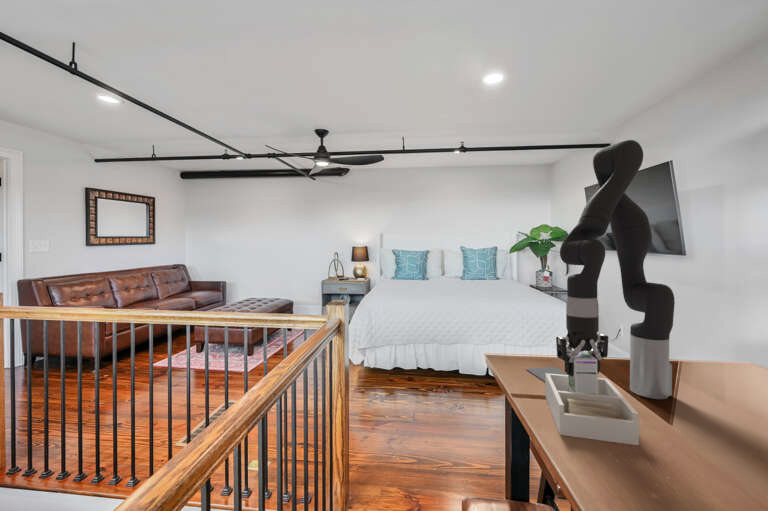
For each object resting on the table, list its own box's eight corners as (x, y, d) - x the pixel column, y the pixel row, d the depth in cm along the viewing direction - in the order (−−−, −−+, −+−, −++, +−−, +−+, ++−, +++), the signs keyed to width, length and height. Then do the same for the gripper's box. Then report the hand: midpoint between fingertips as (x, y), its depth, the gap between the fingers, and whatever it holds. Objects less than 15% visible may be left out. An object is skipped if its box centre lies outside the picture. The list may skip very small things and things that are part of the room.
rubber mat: (554, 368, 123) (554, 366, 123) (575, 380, 112) (575, 378, 112) (526, 370, 122) (526, 368, 122) (545, 382, 111) (545, 381, 111)
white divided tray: (545, 396, 101) (545, 373, 100) (607, 402, 96) (607, 378, 96) (559, 434, 81) (559, 405, 80) (638, 445, 76) (639, 414, 76)
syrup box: (599, 413, 89) (599, 359, 88) (574, 412, 90) (574, 358, 89) (590, 403, 94) (590, 352, 94) (567, 402, 95) (567, 351, 95)
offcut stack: (563, 421, 87) (563, 398, 86) (617, 427, 83) (617, 403, 83) (567, 432, 82) (567, 407, 81) (625, 439, 78) (625, 414, 78)
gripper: (595, 309, 96) (595, 367, 96) (548, 311, 94) (549, 370, 94) (617, 314, 88) (617, 377, 89) (567, 317, 86) (567, 381, 87)
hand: (582, 373), depth 92 cm, fingers closed on syrup box, 7 cm apart
